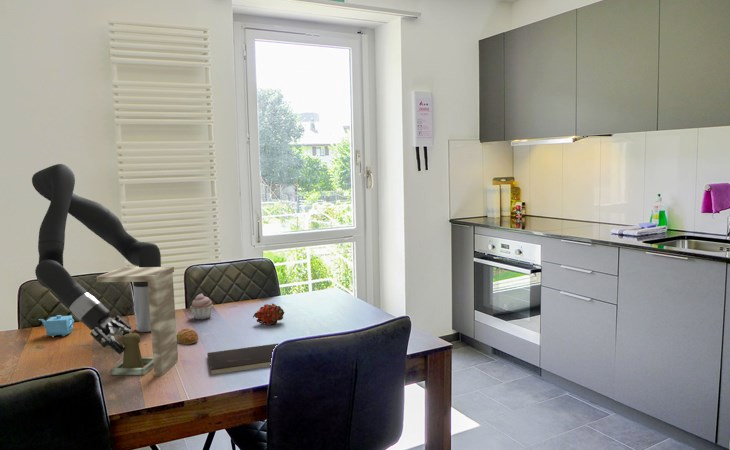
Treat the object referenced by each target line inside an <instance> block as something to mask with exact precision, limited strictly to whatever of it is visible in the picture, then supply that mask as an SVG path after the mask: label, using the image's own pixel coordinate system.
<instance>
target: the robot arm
mask: <svg viewBox="0 0 730 450" xmlns="http://www.w3.org/2000/svg"><path fill="white" fill-rule="evenodd" d="M31 183H32V186H33V188H34V189H35V191H36V192H37V193H38V194H39V195H40V196H42V197H43V198H45V199H46V200H48V201H50V203H49V207H47V210H46V213H45V215H44V217H43V219H42V221H41V224H40V226H39V229H38V230H39V232H38V240H37V241H38V242H37V244H38V245H37V251H38V264H37V265H36V267H35V270H34V272H35V273H34V274H35V276H36V280H37V282H38V284H39V285H40V286H42V287H43V288H47V289H50V290H51V292H53V293H54V294H55V296H56V297H57V299H58V300H59V301H60V302H61V303H62V304H63V305H64V306H65V307H66V308H67V309H68V310H70V312H71V313H72V314H73V315H74V316H75V318H77V319H78V320H79V321H80V322H81V323H82V324H84V325H85V326H86V327H87V328H88V330H89V331H91V332H90V333H89V334H90V335H91V337H93V338H94V339H95V340H96V341H97V342H98V343H99V345H101V346H102V347H103V348H106V347H109V348H111V349H113V350H114V351H115V352H116V353H117V354H119V355H122V354H123V353H124V350H125V348H124V345H123V344H121V343H120V342H119V341H118V340H116V338H115V335H116V336H122V337H123V336H124V335H126V334H129V333H132V332H131V330H132V329H133V327H132V325H130V324H129V323H128V322H127V321H125V320H124V319H123V318H122V317H121V316H120V315H116V316H115V317H114V318H113V317H111V313H112V312H111V310H109V309H108V308H107V307H106V306H105V304H103V303H102V302H101V301H100V300H98V298H97V297H95V296H94V295H93V294H91V293H90V292H89V291H88V290H86V289H85V288H84V287H83V286H82V285H81V284H80V283H78V282H77V281H76V279H75V278H74V277H73V276H72V274H70V273H69V272H68V270H67V269H66V268H65V267H64V250H65V240H66V239H65V238H66V225H67V219H68V214H69V215H70V216H72V217H73V218H74V219H76V221H79V222H80V223H81V224H82V225H84V226H85V227H86V228H87V229H88V230H90V231H91V232H92V233H94V234H95V235H97V237H99V238H101V240H103V241H105V242H106V243H107V244H109V246H111V247H113V248H114V249H116V251H117V252H118V253H120V254H121V256H122V257H124V259H125V260H126V261H127V262H128V263H130V264H131V265H133V266H134V267H136V266H137V267H162V255H161V250H160V248H159V246H158V245H157V244H155V243H153V242H147V241H146V242H145V241H140V240H138V239H137V238H135V237H133V236H132V235H131V234H130V233H128V232H127V231H126V230H125V228H124V225H123V224H122V222H121V220H120V218H119V217H118V216H117V215H116V214H115V213H114V212H112V211H111V210H110V209H109V208H108V207H106V206H105V205H104V204H102V203H99V202H97V201H95V200H91V199H88V198H85V197H82V196H79V195H77V194H75V193H74V191H75V190H74V189H75V185H76V178H75V174H74V171H72V169H71V167H69V166H68V165H66V164H63V163H57V164H53V165H51V166H49V167H48V166H47V167H45V168H43V169H41V170H39V171H37V172H35V173H34V174H32V177H31ZM132 287H133V289H132V290H133V301H134V302H133V303H134V314H135V326H136V327H135V329H136V332H140V333H147V332H148V333H149V332H150V333H151V322H150V308H149V293H148V282H132Z"/></svg>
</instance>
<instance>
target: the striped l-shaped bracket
mask: <svg viewBox="0 0 730 450" xmlns="http://www.w3.org/2000/svg"><path fill="white" fill-rule="evenodd" d="M174 272H175V267H174V266H161V267H139V266H137V267H136V266H134V267H119V268H116V269H114V270H111V271H108V272H106V273H102V274H100V275H97V276H96V283H131V282H132V283H133V282H148V293H149V308H150V322H151V331H150V336H151V347H152V348H151V349H152V350H151V351H152V356H141V357H142V361H143V364H145V365H143V366H144V367H143V368H123V360H121V361H120V362H119V363H117V364H116V365H115V366H113V367H112V368H111V369H110V375H113V376H114V375H115V376H118V375H119V376H122V375H123V376H126V375H130V376H132V375H133V376H134V375H136V376H137V375H140V376H141V375H142V376H143V375H144V376H145V375H147V374H148V373H149V372H150V371H151V370H152V369H153V376H155V377H159V376H161V377H162V376H163V375H164V374H165V373H167V372H169V370H170V369H171V368H173V366H174V365H175V364H177V363H178V362H179V351H178V341H177V334H178V333H177V322H176V306H175V305H176V304H175V292H174V291H175V289H174V274H173V273H174Z"/></svg>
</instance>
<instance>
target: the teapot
mask: <svg viewBox="0 0 730 450" xmlns="http://www.w3.org/2000/svg"><path fill="white" fill-rule="evenodd" d="M38 320H39V321H41V322H42V324H43V328H44V329H45V331H46V336H47V337H51V336H56V337H57V336H61V337H62V336H65V335H66V336H67V335H69V334H70V333H71V332H72V331H73V330H74V326H73V325H74V324H75V320H74V318H73V315H71V314H70V315H61V314H58V315H56V316H50V317H48V319H47V320H45V319H44V318H39V319H38ZM66 336H65V337H66Z"/></svg>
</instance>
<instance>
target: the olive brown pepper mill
mask: <svg viewBox="0 0 730 450" xmlns="http://www.w3.org/2000/svg"><path fill="white" fill-rule="evenodd" d="M121 343H122V344H121V345H122V346H123V347H124V348H125V350H124V351H123V354H122V355H123V356H122V357H123V359H122V361H123V368H143V367H144V366H145V365H144V363H143V361H142V357H143V356H142V352H141V349H140V343H141V336H140V334H139V333H136V332H131V333H129V334H126V335H124V336H122V337H121Z"/></svg>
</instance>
